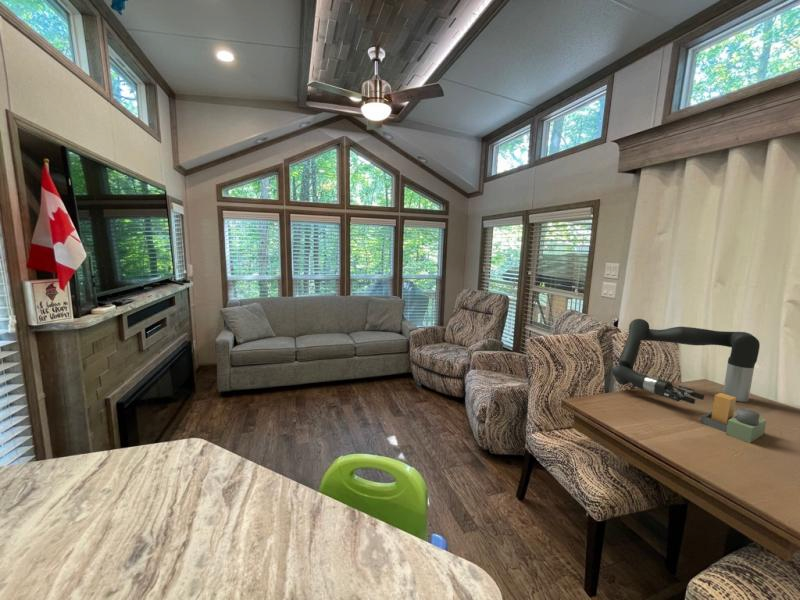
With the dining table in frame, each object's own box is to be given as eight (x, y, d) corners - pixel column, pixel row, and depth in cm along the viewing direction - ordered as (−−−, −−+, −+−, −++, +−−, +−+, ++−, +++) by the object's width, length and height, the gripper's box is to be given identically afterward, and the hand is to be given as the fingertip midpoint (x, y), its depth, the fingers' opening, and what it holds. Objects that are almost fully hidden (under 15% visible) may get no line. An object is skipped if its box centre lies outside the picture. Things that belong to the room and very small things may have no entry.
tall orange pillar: (716, 421, 144) (720, 392, 142) (731, 426, 140) (736, 397, 138) (710, 423, 142) (714, 394, 140) (725, 429, 138) (730, 399, 136)
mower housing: (739, 425, 141) (743, 403, 139) (764, 433, 134) (768, 410, 133) (725, 433, 134) (728, 410, 133) (749, 443, 128) (754, 418, 126)
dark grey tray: (711, 417, 147) (712, 411, 147) (738, 426, 140) (739, 420, 139) (700, 422, 143) (701, 416, 142) (728, 432, 135) (729, 425, 135)
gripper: (664, 390, 165) (705, 404, 150) (648, 396, 158) (690, 411, 144) (665, 376, 164) (708, 388, 149) (650, 381, 157) (692, 394, 143)
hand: (699, 399), depth 147 cm, fingers open, 8 cm apart
